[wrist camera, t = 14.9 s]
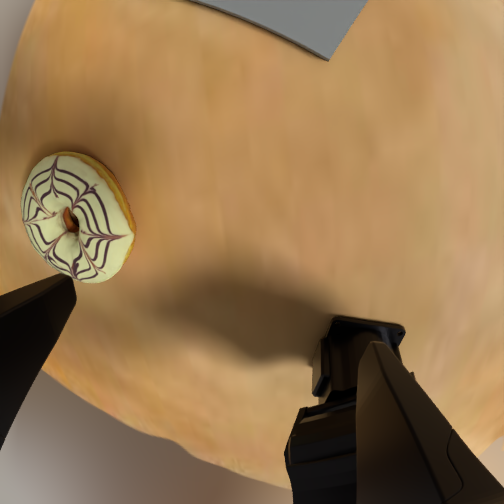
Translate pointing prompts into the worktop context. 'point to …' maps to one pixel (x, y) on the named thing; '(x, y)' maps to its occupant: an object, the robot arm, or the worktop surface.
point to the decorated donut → (88, 213)
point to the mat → (298, 19)
